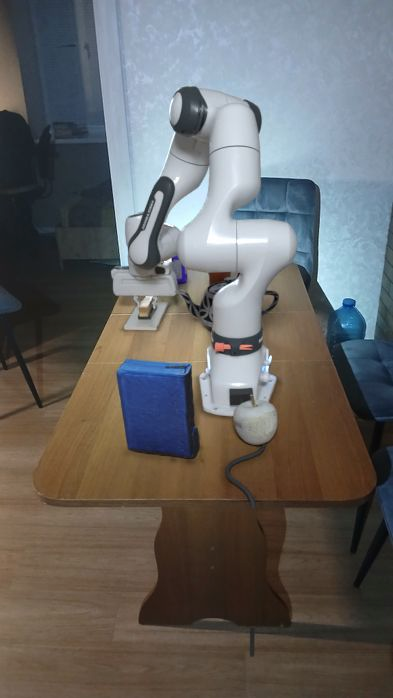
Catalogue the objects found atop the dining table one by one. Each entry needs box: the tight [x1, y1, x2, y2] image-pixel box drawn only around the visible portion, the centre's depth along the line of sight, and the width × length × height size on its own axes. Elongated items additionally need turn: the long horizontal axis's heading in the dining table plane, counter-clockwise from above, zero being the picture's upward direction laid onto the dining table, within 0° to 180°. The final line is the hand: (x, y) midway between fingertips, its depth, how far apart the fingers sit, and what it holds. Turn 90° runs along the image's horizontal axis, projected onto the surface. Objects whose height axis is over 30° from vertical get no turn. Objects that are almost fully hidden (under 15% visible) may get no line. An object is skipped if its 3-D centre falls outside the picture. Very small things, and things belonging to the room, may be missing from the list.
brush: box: [138, 296, 157, 319], centre depth 159 cm, size 11×4×4 cm, turn 172°
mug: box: [207, 272, 240, 286], centre depth 173 cm, size 12×9×10 cm
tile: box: [123, 301, 169, 331], centre depth 160 cm, size 20×10×1 cm, turn 172°
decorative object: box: [232, 395, 279, 446], centre depth 100 cm, size 9×9×10 cm
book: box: [115, 358, 200, 459], centre depth 95 cm, size 14×5×20 cm, turn 76°
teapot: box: [174, 276, 280, 331], centre depth 148 cm, size 19×31×15 cm, turn 91°
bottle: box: [171, 256, 188, 284], centre depth 186 cm, size 7×6×17 cm
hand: (147, 308), depth 159 cm, fingers closed on brush, 2 cm apart
